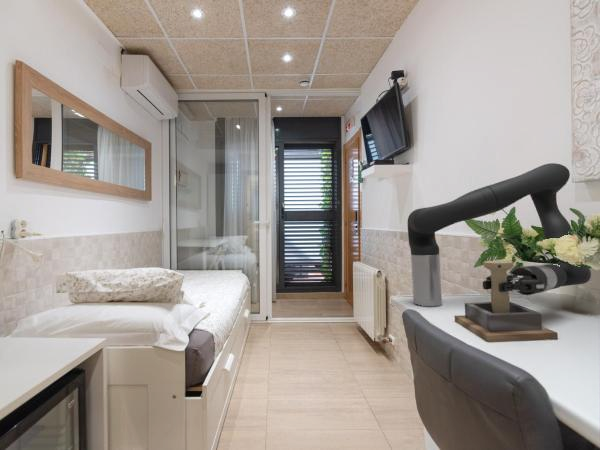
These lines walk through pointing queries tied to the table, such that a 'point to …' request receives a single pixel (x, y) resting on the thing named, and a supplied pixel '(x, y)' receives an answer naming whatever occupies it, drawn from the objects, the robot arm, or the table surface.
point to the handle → (498, 276)
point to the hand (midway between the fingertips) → (492, 286)
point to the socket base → (504, 323)
